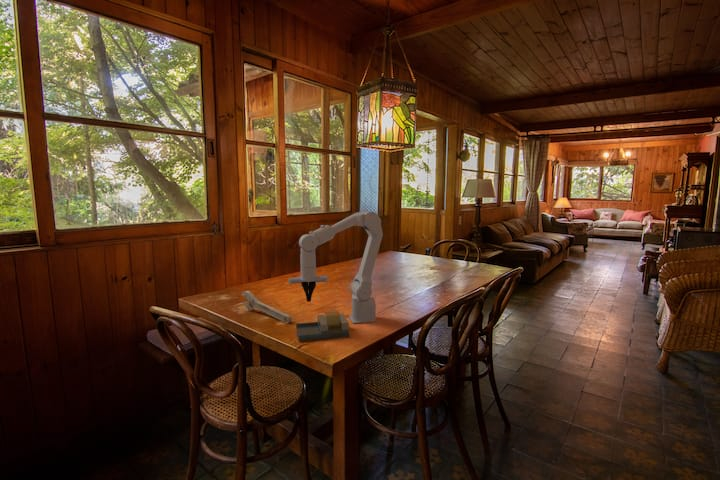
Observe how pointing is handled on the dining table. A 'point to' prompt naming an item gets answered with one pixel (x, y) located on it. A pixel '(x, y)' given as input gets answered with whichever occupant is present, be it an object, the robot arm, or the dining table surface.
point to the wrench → (264, 307)
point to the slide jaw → (322, 324)
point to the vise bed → (313, 332)
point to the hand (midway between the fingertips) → (308, 300)
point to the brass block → (333, 320)
